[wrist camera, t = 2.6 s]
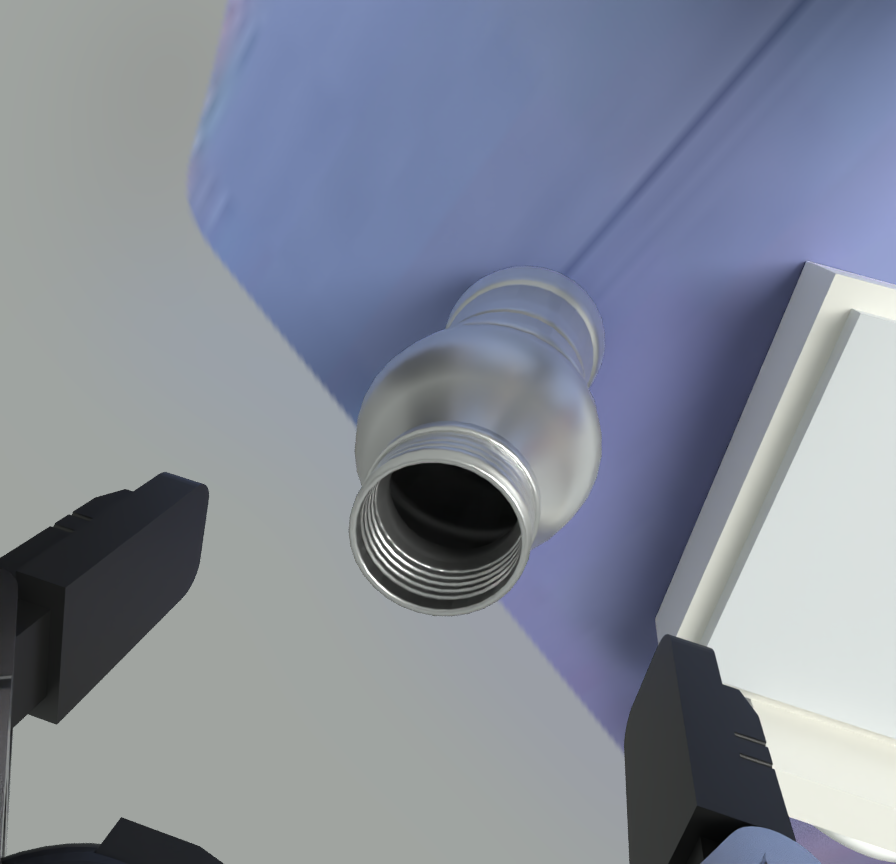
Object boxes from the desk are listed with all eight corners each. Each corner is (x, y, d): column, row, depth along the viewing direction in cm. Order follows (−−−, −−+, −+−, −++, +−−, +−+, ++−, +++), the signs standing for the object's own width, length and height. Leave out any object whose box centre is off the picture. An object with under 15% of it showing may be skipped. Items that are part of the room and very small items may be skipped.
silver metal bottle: (623, 375, 33) (656, 640, 14) (482, 419, 35) (351, 702, 16) (577, 235, 31) (548, 329, 13) (432, 290, 33) (224, 440, 15)
